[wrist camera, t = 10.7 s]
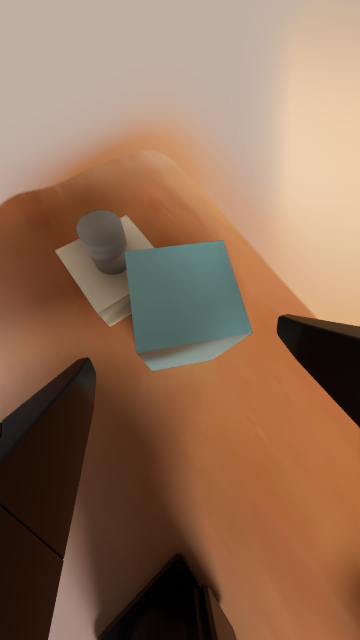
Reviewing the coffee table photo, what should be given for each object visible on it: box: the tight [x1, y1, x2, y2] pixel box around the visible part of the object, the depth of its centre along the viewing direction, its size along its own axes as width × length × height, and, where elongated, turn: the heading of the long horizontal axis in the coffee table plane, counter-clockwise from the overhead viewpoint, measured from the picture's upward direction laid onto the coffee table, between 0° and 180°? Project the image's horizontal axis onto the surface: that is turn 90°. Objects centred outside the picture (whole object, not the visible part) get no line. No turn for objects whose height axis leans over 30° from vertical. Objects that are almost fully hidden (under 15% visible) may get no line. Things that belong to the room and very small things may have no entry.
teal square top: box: [125, 240, 253, 371], centre depth 14 cm, size 5×5×9 cm
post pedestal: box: [55, 210, 154, 327], centre depth 16 cm, size 7×7×7 cm
